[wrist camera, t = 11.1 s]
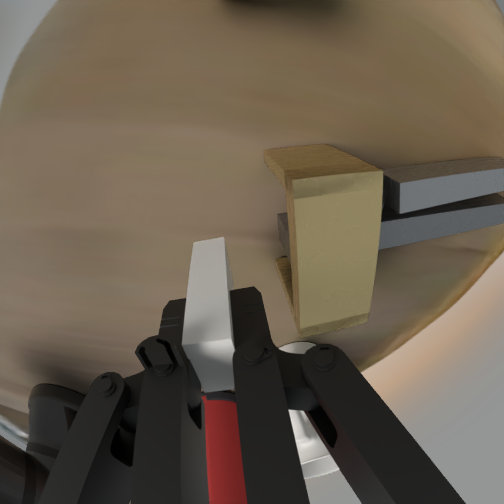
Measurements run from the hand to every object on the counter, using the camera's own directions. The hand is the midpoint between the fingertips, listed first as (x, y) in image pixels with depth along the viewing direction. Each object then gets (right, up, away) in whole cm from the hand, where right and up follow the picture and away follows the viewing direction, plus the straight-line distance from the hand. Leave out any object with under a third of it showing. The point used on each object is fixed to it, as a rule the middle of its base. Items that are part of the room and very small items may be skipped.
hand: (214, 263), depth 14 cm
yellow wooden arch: (+5, +4, +5) cm, 8 cm away
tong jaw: (+18, +7, +4) cm, 19 cm away
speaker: (-2, -18, +16) cm, 24 cm away
